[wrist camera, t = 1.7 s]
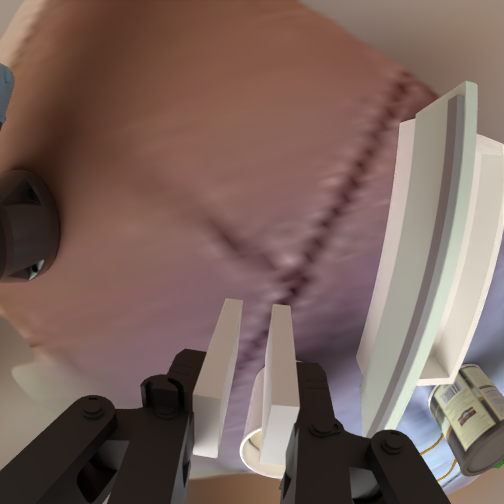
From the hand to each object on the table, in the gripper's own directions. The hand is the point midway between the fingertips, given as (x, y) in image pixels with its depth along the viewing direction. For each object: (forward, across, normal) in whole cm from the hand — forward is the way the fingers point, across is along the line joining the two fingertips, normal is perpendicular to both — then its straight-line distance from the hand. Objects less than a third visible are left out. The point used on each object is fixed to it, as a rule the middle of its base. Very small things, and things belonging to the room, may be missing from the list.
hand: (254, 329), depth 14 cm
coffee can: (+21, +32, -20) cm, 43 cm away
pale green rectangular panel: (+8, +12, 0) cm, 15 cm away
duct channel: (+20, +19, 0) cm, 28 cm away
